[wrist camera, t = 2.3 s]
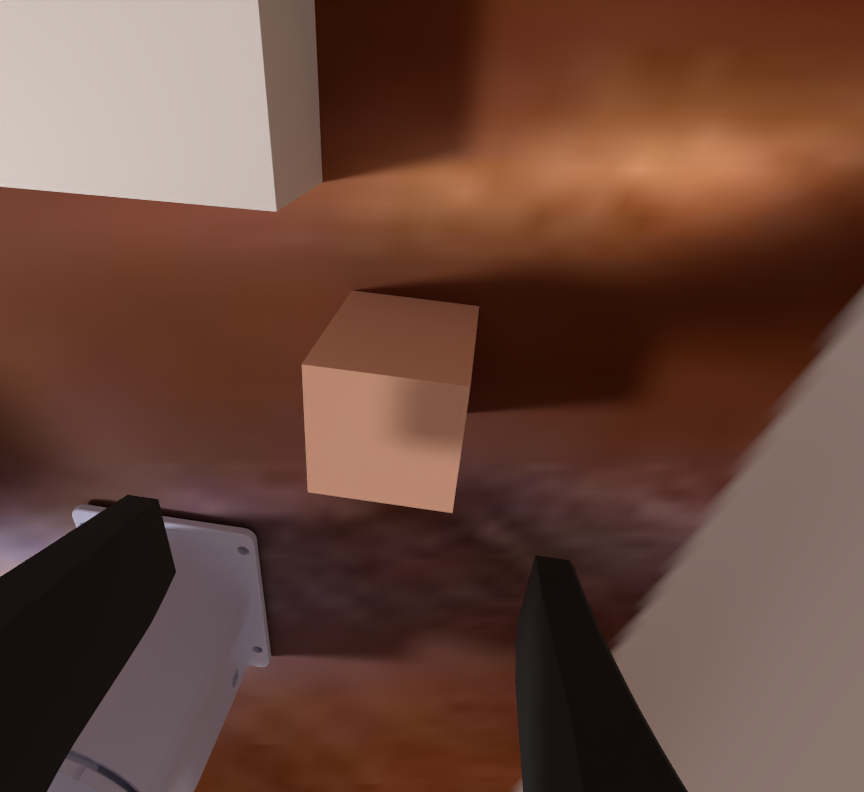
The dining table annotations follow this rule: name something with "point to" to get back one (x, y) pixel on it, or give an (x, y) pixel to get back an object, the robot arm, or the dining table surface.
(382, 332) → the terracotta block
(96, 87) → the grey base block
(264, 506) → the dining table surface
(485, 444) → the dining table surface
